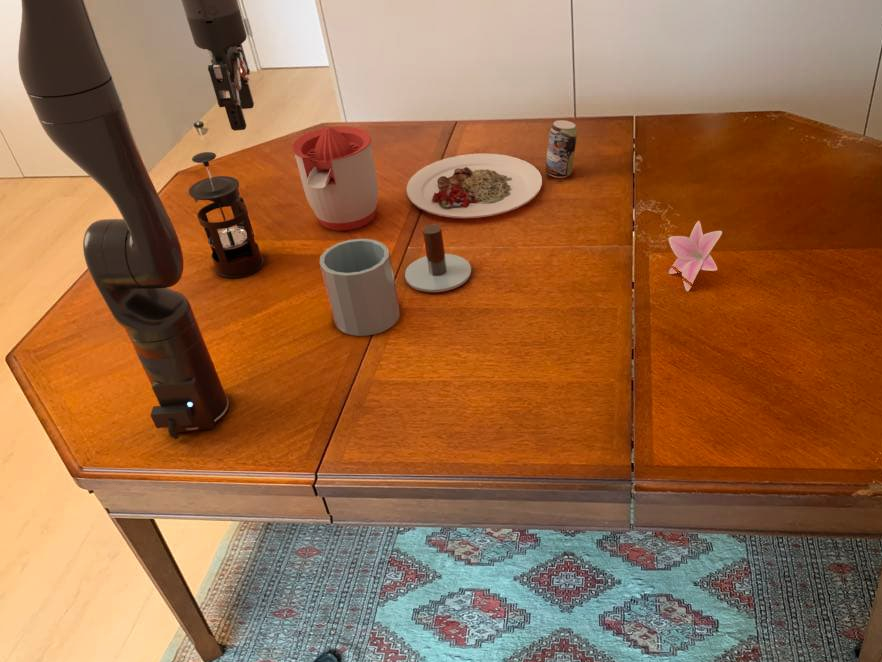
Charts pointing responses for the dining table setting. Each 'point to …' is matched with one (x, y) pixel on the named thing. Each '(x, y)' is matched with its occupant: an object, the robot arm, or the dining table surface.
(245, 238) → the french press
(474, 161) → the plated food
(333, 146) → the citrus juicer
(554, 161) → the beverage can
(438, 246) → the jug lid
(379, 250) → the grey cup
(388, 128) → the dining table surface
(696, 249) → the lily
